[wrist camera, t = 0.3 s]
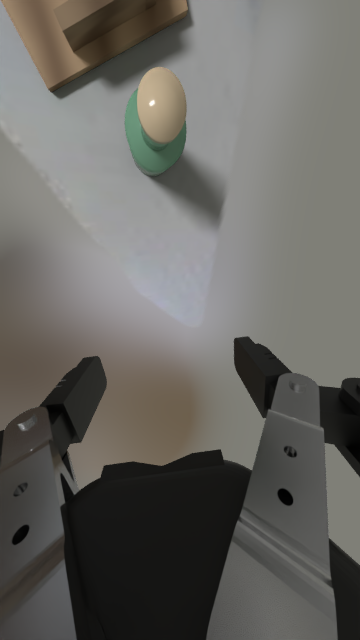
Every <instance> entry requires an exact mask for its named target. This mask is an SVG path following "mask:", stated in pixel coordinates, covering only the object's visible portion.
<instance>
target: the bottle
mask: <svg viewBox="0 0 360 640" xmlns="http://www.w3.org/2000/svg"><path fill="white" fill-rule="evenodd" d="M185 118H186V97H185V93H184V90H183V87H182V85H181V83H180V81H179V79H178V78H177V77H176V75H175V74H174V73H173V72H171V71H170V70H168V69H166V68H163V67H156V68H153V69H151V70H149V71H148V72H147V73H146V74H145V75H144V77H143V78H142V80H141V82H140V85H139V88H138V89H137V90H136V91H135V92H134V93H133V94H132V96H131V98H130V100H129V102H128V105H127V108H126V113H125V131H126V136H127V140H128V143H129V146H130V150H131V153H132V156H133V159H134V162H135V164H136V166H137V167H138V168H139V170H140V171H141V172H143V173H144V174H146V175H148V176H158V175H160V174H161V173H163V172H164V171H165V170H167V169H168V168H169V167H171V166H172V165H173V164H174V163H175V162H176V161H177V160H178V159H179V157H180V155H181V154H182V151H183V149H184V145H185V141H186V121H185Z"/></svg>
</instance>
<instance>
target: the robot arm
mask: <svg viewBox="0 0 360 640" xmlns="http://www.w3.org/2000/svg"><path fill="white" fill-rule="evenodd" d="M234 364H235V368H236V371H237V373H238V375H239V376H240V378H241V380H242V382H243V383H244V385H245V387H246V388H247V390H248V392H249V394H250V396H251V398H252V399H253V401H254V403H255V405H256V406H257V408H258V410H259V412H260V413H261V415H262V417H263V418H266V420H265V424H264V428H263V432H262V436H261V440H260V443H259V447H258V451H257V454H256V459H255V462H254V466H253V470H250V469H248V468H246V467H244V466H242V465H240V464H238V463H235V462H232V461H228V460H223V456H222V452H221V450H213V451H205V452H198V453H192V454H190V455H187V456H185V457H183V458H180V459H178V460H176V461H173V462H171V463H169V464H166V465H164V466H158V465H151V464H145V463H138V462H126V463H119V464H112V465H105V466H104V468H103V471H102V474H101V478H99V479H97V480H95V481H93V482H91V483H90V484H88V485H87V486H85V487H84V488H83V489H81V490H80V491H79V489H78V485H77V482H76V478H75V474H74V470H73V466H72V463H71V459H70V455H69V452H68V451H67V449H68V447H69V445H70V444H73V443H80V442H81V441H82V439H83V437H84V435H85V433H86V430H87V428H88V426H89V424H90V422H91V419H92V417H93V415H94V413H95V411H96V409H97V406H98V404H99V402H100V400H101V398H102V396H103V393H104V391H105V389H106V385H107V381H106V376H105V373H104V369H103V366H102V363H101V360H100V358H99V357H98V356H94V357H86V358H83V359H82V361H81V362H80V363H79V364H78V365H77V367H75V368H73V369H72V370H71V371H69V372H68V373H67V374H66V375H65V376H64V377H63V378H62V380H61V382H59V383H58V385H57V386H56V388H54V389H53V391H52V392H51V393H50V394H49V395H48V396H47V398H46V399H45V400H44V401H43V402H42V404H41V405H40V406H39V407H35V408H31V409H29V410H27V411H25V412H23V413H21V414H19V415H18V416H17V417H15V418H14V419H13V420H12V421H11V422H10V423H9V424H8V425H7V426H6V428H5V430H2V431H0V640H360V565H359V564H358V563H356V562H355V561H354V560H353V559H352V558H351V557H350V556H349V555H348V554H346V553H345V552H344V551H343V550H342V549H341V548H340V547H339V546H337V545H336V544H335V543H334V542H333V541H332V540H331V539H329V536H328V513H327V490H326V468H325V446H324V445H325V444H324V443H329V444H334V445H335V446H336V447H337V449H338V450H339V451H340V452H341V454H342V455H343V456H344V458H345V459H346V460H347V461H348V463H349V464H350V465H351V467H352V468H353V469H354V470H355V472H356V473H357V474H358V475H359V476H360V378H347V379H345V380H343V381H342V385H341V388H333V387H323V386H318V385H317V384H316V382H315V381H313V380H312V379H310V378H309V377H307V376H304V375H301V374H297V373H292V372H291V371H290V370H289V369H288V368H287V367H286V366H285V365H284V364H283V363H282V362H281V361H280V360H279V359H277V358H276V356H275V355H274V354H272V352H271V351H270V350H269V349H268V348H267V347H265V346H263V345H261V344H255V343H254V342H253V341H252V340H251V339H250V338H249V337H240V338H235V339H234Z"/></svg>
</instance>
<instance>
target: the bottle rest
mask: <svg viewBox="0 0 360 640" xmlns="http://www.w3.org/2000/svg"><path fill="white" fill-rule="evenodd" d="M1 1H2V3H3V5H4V7H5V9H6V11H7V13H8V15H9V16H10V18H11V20H12V22H13V24H14V26H15V28H16V30H17V32H18V33H19V35H20V37H21V39H22V41H23V43H24V45H25V47H26V48H27V50H28V52H29V54H30V56H31V58H32V60H33V62H34V64H35V65H36V67H37V69H38V71H39V73H40V75H41V77H42V79H43V80H44V82H45V84H46V86H47V88H48V89H49V90H50V92H53V91H55V90H56V89H58V88H60V87H62V86H63V85H65V84H67V83H69V82H71V81H72V80H74V79H76V78H78V77H79V76H81V75H83V74H85V73H86V72H88V71H90V70H92V69H94V68H95V67H97V66H99V65H101V64H102V63H104V62H106V61H108V60H109V59H111V58H113V57H115V56H117V55H118V54H120V53H122V52H124V51H125V50H127V49H129V48H131V47H133V46H134V45H136V44H138V43H140V42H141V41H143V40H145V39H147V38H148V37H150V36H152V35H154V34H156V33H157V32H159V31H161V30H163V29H164V28H166V27H168V26H170V25H171V24H173V23H175V22H177V21H179V20H180V19H182V18H184V17H186V15H187V11H188V7H187V2H186V0H1Z"/></svg>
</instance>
